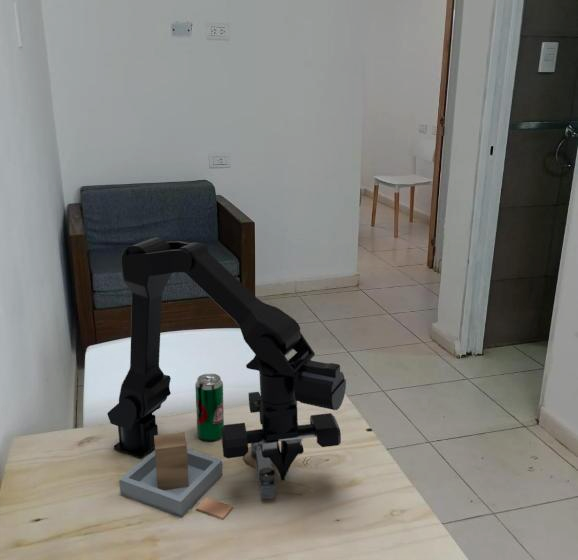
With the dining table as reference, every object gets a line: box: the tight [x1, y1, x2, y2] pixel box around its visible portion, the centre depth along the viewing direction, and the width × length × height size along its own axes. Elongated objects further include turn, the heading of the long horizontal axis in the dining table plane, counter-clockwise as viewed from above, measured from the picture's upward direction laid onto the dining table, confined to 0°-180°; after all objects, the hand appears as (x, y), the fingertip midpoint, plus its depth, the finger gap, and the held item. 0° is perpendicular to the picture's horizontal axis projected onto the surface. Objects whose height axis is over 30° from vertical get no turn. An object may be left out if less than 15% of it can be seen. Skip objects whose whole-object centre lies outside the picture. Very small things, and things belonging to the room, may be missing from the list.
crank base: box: [195, 446, 275, 520], centre depth 105 cm, size 6×20×1 cm, turn 154°
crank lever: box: [250, 442, 276, 500], centre depth 105 cm, size 14×4×4 cm, turn 8°
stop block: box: [154, 431, 189, 490], centre depth 102 cm, size 4×5×8 cm
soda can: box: [194, 372, 225, 442], centre depth 116 cm, size 5×5×12 cm
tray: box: [118, 448, 223, 519], centre depth 103 cm, size 12×12×3 cm
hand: (282, 479), depth 102 cm, fingers closed
